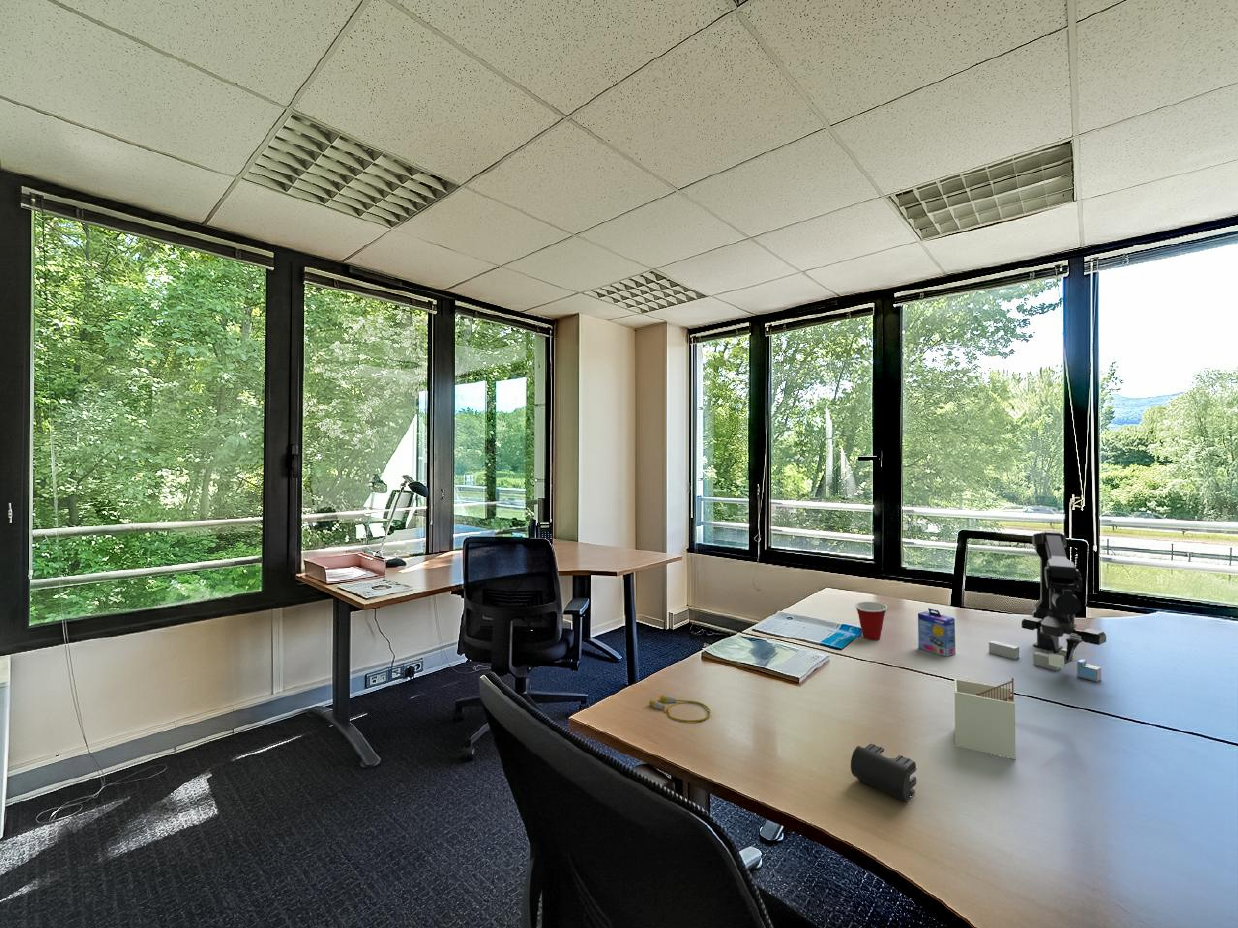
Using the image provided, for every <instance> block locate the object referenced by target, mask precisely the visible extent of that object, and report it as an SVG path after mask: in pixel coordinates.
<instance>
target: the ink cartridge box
mask: <svg viewBox="0 0 1238 928" xmlns="http://www.w3.org/2000/svg"><path fill="white" fill-rule="evenodd" d="M927 610H928V611H927ZM927 610H926V611H922V612H918V613H917V630H918V631H917V634H918V635H917V636H918V639H917V641H918V649H921V650H924V651H927V652H931V653H934V654H937V655H939V656H943V657H949V656H953V655H956V627H955V626H956V621H955V619H956V618H954V617H952V616H949V615H944V614H941V613H940V611H939V610H938V609H934V608H930V607H929V608H927Z"/></svg>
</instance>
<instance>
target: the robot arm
mask: <svg viewBox="0 0 1238 928" xmlns="http://www.w3.org/2000/svg"><path fill="white" fill-rule="evenodd" d="M1031 542H1032V547H1034V551H1035V552H1036V554H1037V555H1038V557H1039V559H1040V563H1039V565H1040V569H1039V570H1040V576H1039V580H1040V582H1039V584H1040V585H1039V586H1040V589H1039V591H1040V593H1039V594H1040V596H1039V597H1040V598H1039V599H1038V601H1036V603H1035V604H1034V610H1032V612H1031V616H1029V617H1026V618H1023V619H1022V621H1021V629H1025V630H1029V631H1034V630H1036V642H1034V643H1032V646H1033V647H1036V648H1041V649H1046V650H1049V651H1052V652H1053V654H1055V653H1058V652H1060V649H1063V648H1064V646H1063V645H1061V644H1060V642H1059V641H1060V639H1059V638H1062V637H1063V636H1064V634H1065V635H1068V636H1069V637H1067V638H1066V639H1065V641H1066V649H1067V652H1066V658H1067V660H1068V661H1069V660H1070V658H1071V656H1072V654H1073V653H1074V651H1076V648H1077V647H1078V646H1079V644H1080V643H1088V644H1092V645H1095V646H1096V645H1097V646H1100V645H1102V644H1105V643H1106V642H1107V635H1106V633H1105V632H1104V631H1102V630H1097V629H1091V628H1087V629H1085V630H1080V629H1076V628H1077V624H1076V621H1075V620H1076V619H1075V618H1076V617H1075V616H1076V614H1079V613H1080V612H1081V610H1082V603H1081V601H1080V600H1079V598H1078V597H1077V595H1076V593H1075V592H1082V589H1083V588H1084V582H1083V577H1082V574H1081V572H1080V570H1079V569H1077V568H1076V565H1075V563H1074V562H1073V561H1071V560H1069V559H1068V557H1067V553H1066V550H1065V548H1066V547H1067V536H1066V535H1065V534H1064V533H1063V532H1060V531H1046V530H1045V531H1042V532H1037V533H1034V534H1033V535H1032V538H1031Z"/></svg>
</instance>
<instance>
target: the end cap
mask: <svg viewBox="0 0 1238 928" xmlns="http://www.w3.org/2000/svg"><path fill="white" fill-rule="evenodd" d="M883 752H885V748H884V747H881V746H878V745H876V744H873V743H869V744H868V745H866V746H865V747H863V746H860V745H857V746H856V747H855V749H854V750H853V753H852V756H851V759H850V770H851V774H852V775H853V777H855V778H856V779H857V780H858V781H860V782H861V783H864V784H866V785H868V786H870V787H873V788H874V789H877V790H880V791H882V792H884V793H886V794H888V795H890V796H893V797H894V796H895V798H896V799H898V800H901V801H903V802H905V801H906V802H908V801H909V800H910V799H911V798H910V796H912V795H913V794H914V793H915V794H916V790H915V789H916V788H914V787H915V786H916V784H917V782H918V781H917V777H916V776H912V777H911V775H913V774H914V773H916V771H917V764H916V762H915V761H914V760H913V759H911V758H910V757H909V758H908V757H905V756H903V754H902V755H901V754H898V755H897V756H896V757H893V758H891V757H886V756H884V755H882V753H883ZM915 794H914V795H915ZM914 795H913V796H914ZM913 796H912V797H913ZM907 800H908V801H907Z"/></svg>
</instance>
